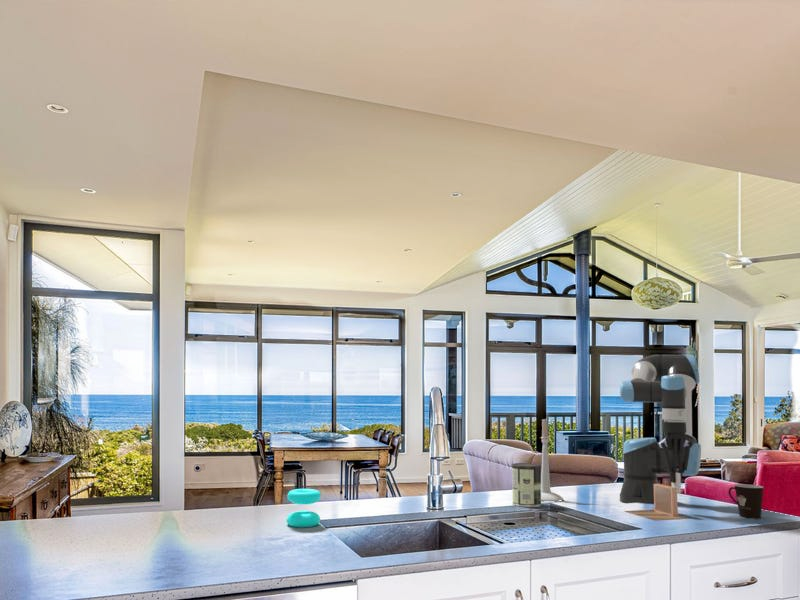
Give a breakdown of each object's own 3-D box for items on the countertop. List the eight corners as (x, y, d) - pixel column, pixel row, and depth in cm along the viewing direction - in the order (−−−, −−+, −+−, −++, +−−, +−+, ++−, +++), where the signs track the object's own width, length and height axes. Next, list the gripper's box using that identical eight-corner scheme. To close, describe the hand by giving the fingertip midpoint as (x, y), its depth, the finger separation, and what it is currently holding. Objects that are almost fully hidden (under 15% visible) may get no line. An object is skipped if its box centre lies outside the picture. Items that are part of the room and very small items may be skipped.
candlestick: (561, 497, 264) (560, 417, 267) (565, 502, 251) (563, 419, 255) (527, 495, 265) (526, 417, 269) (529, 501, 253) (528, 418, 256)
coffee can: (532, 501, 252) (532, 462, 254) (546, 506, 242) (546, 466, 244) (507, 502, 249) (506, 463, 251) (519, 508, 239) (519, 466, 241)
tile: (654, 511, 232) (653, 483, 234) (659, 510, 233) (658, 483, 234) (672, 516, 224) (671, 487, 225) (677, 515, 225) (676, 487, 226)
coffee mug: (769, 519, 225) (768, 488, 226) (743, 519, 225) (741, 487, 226) (752, 513, 236) (751, 483, 237) (727, 512, 236) (725, 482, 238)
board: (623, 513, 231) (623, 511, 232) (658, 511, 236) (658, 509, 236) (655, 523, 216) (655, 520, 216) (691, 520, 221) (691, 518, 221)
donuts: (318, 487, 213) (323, 492, 204) (317, 520, 212) (322, 527, 203) (286, 488, 211) (289, 493, 201) (285, 521, 210) (287, 528, 200)
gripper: (666, 421, 228) (668, 495, 225) (697, 421, 232) (700, 493, 229) (650, 420, 235) (652, 491, 232) (681, 420, 239) (684, 490, 236)
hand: (676, 492), depth 231 cm, fingers closed
